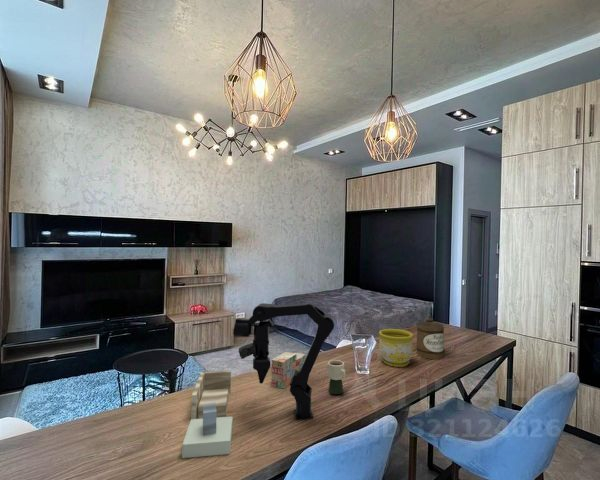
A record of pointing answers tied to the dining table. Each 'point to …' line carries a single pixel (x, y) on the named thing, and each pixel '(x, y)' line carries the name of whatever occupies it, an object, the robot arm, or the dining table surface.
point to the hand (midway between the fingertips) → (260, 378)
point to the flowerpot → (395, 347)
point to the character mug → (336, 376)
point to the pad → (208, 439)
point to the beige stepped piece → (211, 392)
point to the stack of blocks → (285, 368)
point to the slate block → (209, 419)
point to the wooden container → (430, 339)
